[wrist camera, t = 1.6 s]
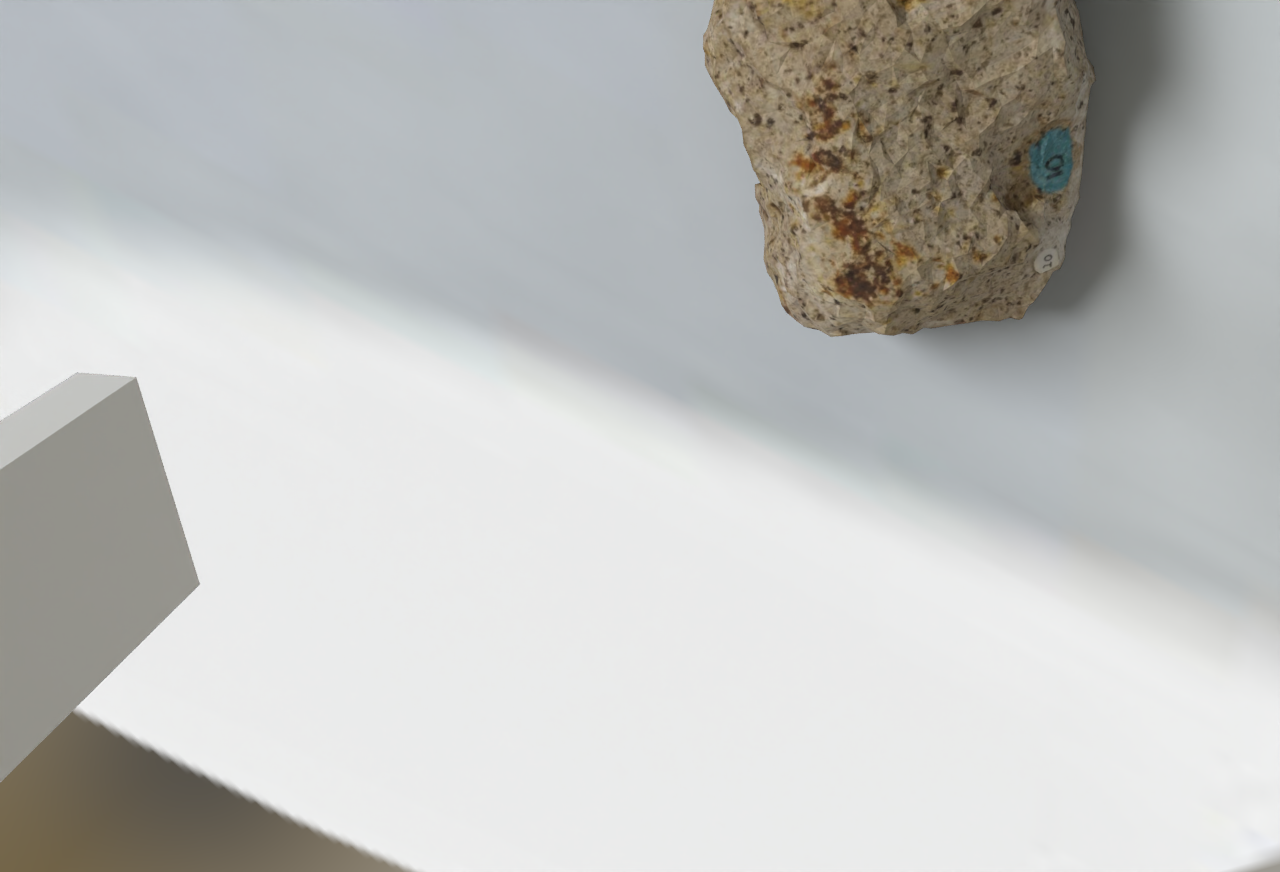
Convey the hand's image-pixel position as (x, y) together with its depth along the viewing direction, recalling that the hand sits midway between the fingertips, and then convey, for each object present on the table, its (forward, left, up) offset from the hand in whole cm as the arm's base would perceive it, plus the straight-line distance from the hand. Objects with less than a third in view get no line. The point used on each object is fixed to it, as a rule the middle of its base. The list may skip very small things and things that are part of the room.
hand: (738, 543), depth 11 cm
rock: (0, 0, -19) cm, 19 cm away
